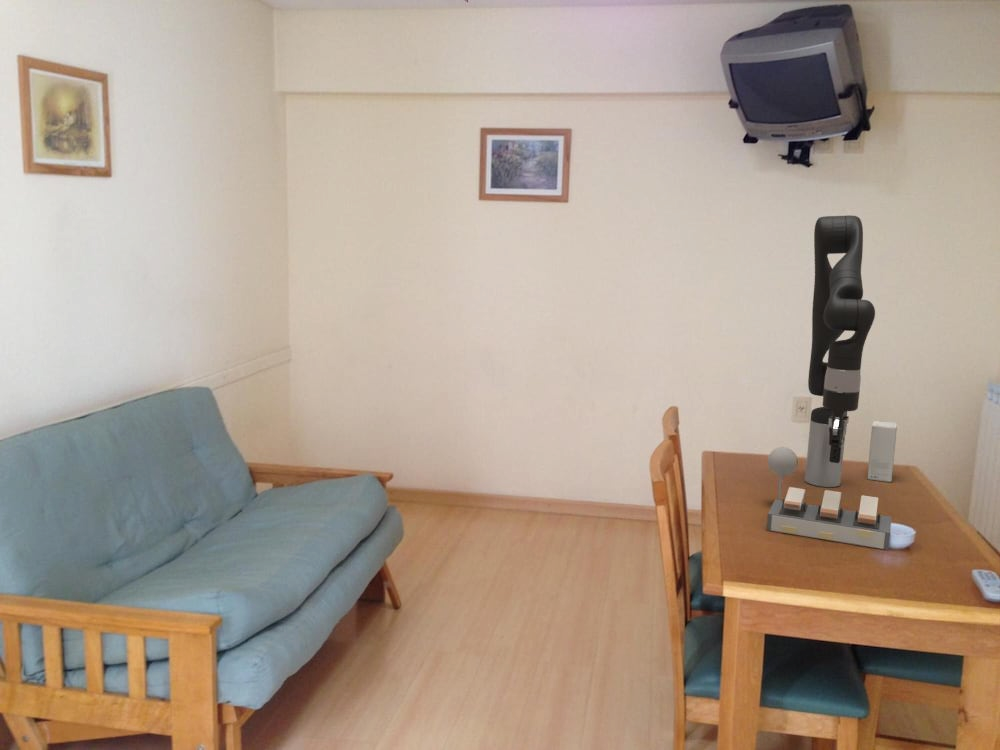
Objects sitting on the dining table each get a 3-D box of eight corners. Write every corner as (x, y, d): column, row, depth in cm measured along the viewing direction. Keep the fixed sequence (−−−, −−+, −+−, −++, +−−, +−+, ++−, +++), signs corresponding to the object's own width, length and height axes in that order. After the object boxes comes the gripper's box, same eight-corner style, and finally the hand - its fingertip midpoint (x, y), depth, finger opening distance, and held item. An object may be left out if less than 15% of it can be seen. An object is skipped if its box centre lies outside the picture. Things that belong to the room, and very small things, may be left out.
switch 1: (789, 491, 216) (789, 486, 215) (804, 493, 214) (805, 489, 214) (783, 507, 208) (783, 503, 208) (799, 510, 206) (800, 505, 206)
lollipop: (795, 510, 224) (800, 452, 221) (765, 508, 225) (770, 449, 222) (791, 502, 230) (797, 445, 228) (763, 499, 232) (767, 442, 229)
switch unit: (773, 515, 220) (775, 491, 219) (889, 533, 209) (892, 508, 208) (766, 530, 208) (768, 505, 207) (888, 550, 198) (891, 524, 197)
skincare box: (891, 483, 251) (897, 428, 248) (865, 479, 253) (871, 425, 251) (892, 475, 258) (898, 422, 255) (867, 472, 261) (873, 419, 258)
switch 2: (824, 494, 212) (824, 489, 212) (840, 496, 211) (841, 492, 210) (820, 516, 205) (820, 511, 204) (836, 518, 204) (837, 514, 203)
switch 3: (861, 499, 209) (861, 495, 208) (877, 501, 208) (878, 497, 207) (857, 521, 202) (858, 517, 201) (875, 524, 200) (875, 520, 200)
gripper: (827, 381, 211) (821, 453, 214) (820, 390, 199) (813, 466, 202) (862, 384, 208) (854, 457, 211) (856, 394, 196) (849, 471, 199)
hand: (834, 461), depth 206 cm, fingers closed
